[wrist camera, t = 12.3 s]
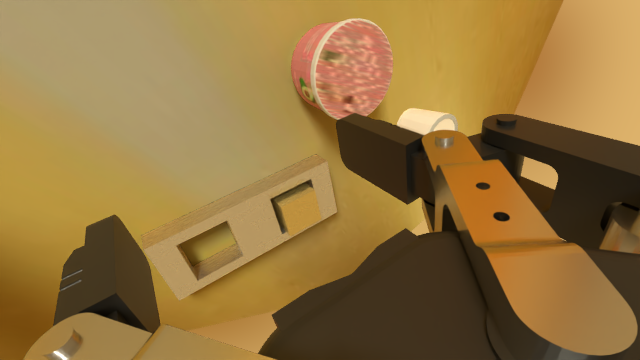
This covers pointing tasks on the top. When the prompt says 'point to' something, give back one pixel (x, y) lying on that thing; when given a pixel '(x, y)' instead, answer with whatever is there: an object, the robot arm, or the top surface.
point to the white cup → (426, 121)
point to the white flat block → (235, 227)
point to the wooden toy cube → (296, 208)
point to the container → (343, 67)
